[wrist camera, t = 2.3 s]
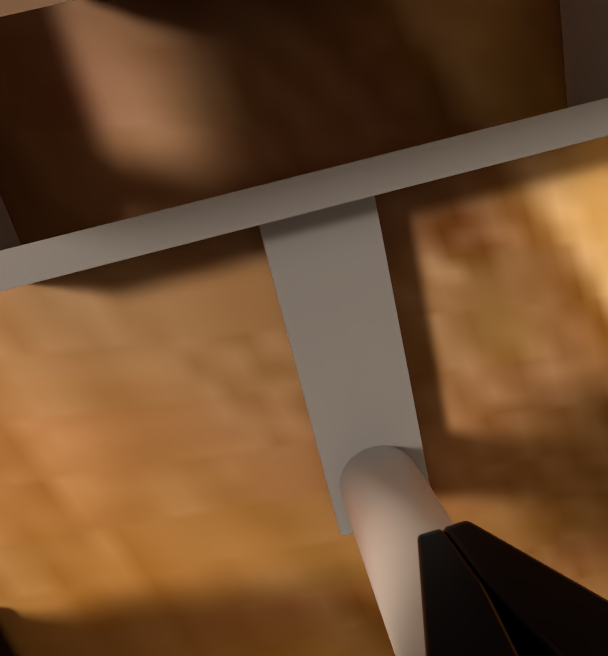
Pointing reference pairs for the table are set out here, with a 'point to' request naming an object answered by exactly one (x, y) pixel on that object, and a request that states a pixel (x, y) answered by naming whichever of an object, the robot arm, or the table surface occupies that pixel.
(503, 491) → the table surface
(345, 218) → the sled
